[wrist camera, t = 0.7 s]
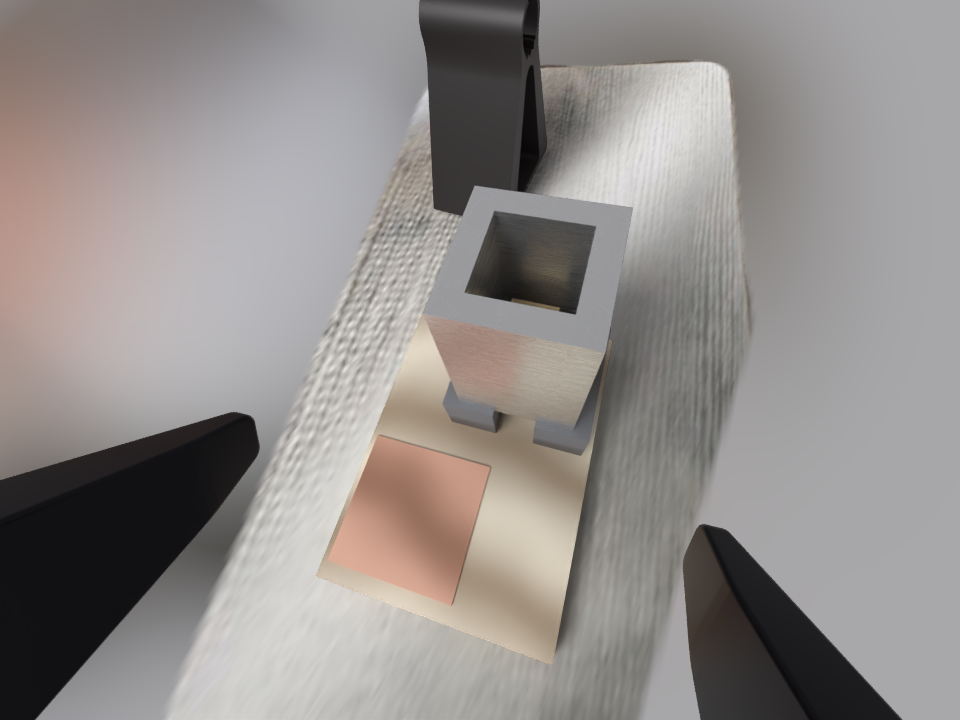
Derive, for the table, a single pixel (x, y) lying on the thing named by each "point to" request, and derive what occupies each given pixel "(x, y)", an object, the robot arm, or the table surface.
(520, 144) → the phone stand
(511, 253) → the steel sleeve
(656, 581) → the table surface
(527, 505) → the board
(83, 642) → the robot arm
